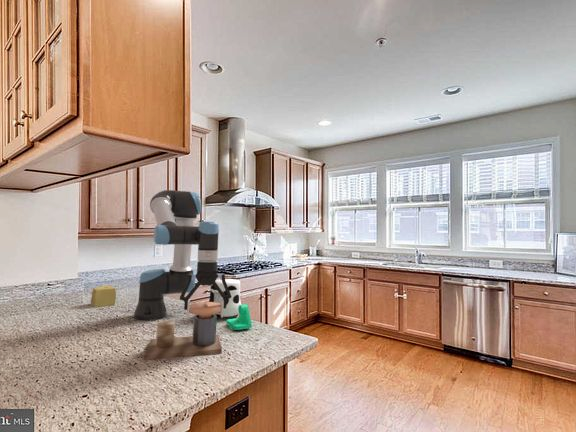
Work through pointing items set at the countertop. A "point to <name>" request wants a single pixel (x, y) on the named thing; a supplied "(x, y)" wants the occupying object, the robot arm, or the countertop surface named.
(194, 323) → the tube
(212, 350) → the brown board with post
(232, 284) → the milk container
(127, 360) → the countertop surface
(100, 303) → the cheese
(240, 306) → the camera mount
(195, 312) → the domed pot lid
